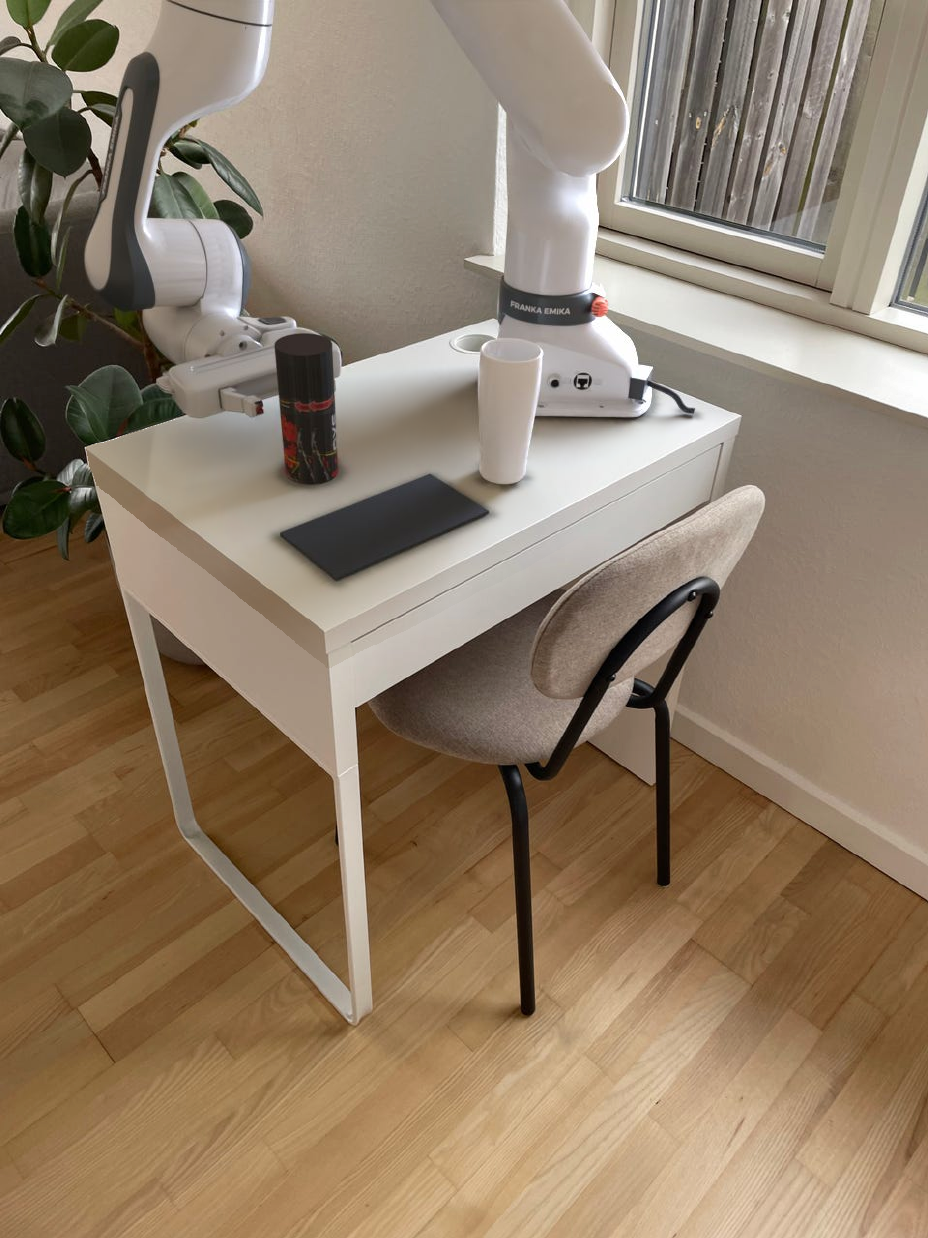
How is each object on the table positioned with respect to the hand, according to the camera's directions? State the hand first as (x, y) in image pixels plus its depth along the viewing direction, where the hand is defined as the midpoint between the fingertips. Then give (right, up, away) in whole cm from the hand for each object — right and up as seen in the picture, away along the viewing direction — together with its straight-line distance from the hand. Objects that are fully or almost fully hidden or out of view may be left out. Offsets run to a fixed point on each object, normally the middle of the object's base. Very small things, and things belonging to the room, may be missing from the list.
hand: (294, 398), depth 103 cm
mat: (+11, -14, -5) cm, 18 cm away
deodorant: (+1, -8, +4) cm, 9 cm away
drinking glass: (+23, -8, +5) cm, 25 cm away
